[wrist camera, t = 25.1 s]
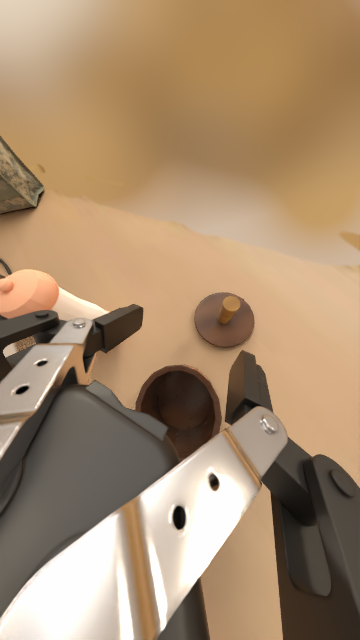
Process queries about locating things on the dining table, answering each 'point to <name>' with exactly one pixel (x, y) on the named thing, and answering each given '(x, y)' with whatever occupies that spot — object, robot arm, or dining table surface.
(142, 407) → the tin
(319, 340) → the dining table surface
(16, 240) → the dining table surface
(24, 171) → the lunch bag
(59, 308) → the pepper shaker
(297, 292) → the dining table surface
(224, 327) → the lid
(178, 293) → the dining table surface
